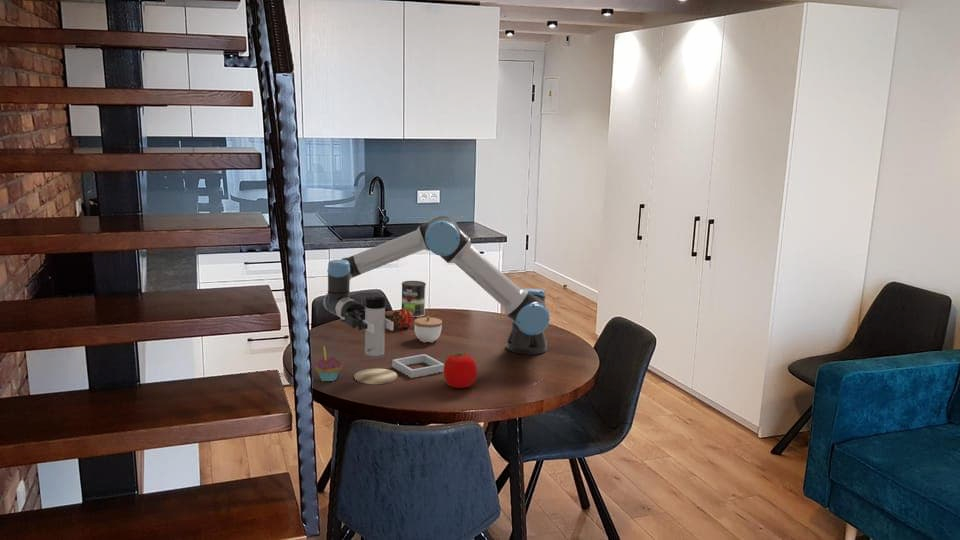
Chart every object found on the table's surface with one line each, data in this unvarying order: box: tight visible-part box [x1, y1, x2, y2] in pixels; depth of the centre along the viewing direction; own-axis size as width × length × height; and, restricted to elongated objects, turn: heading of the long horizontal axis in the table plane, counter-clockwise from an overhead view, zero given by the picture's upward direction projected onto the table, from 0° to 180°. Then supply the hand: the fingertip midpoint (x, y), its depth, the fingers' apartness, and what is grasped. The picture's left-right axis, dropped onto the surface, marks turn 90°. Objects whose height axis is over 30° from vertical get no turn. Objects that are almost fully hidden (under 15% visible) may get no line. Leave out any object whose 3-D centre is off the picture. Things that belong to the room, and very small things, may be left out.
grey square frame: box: [391, 353, 445, 379], centre depth 250 cm, size 13×13×2 cm
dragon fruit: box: [390, 308, 415, 330], centre depth 299 cm, size 8×8×12 cm
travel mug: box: [364, 296, 386, 360], centre depth 238 cm, size 6×7×20 cm
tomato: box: [443, 352, 478, 389], centre depth 235 cm, size 10×11×11 cm
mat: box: [353, 367, 398, 385], centre depth 242 cm, size 14×14×1 cm
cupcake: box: [314, 344, 343, 382], centre depth 237 cm, size 9×8×12 cm
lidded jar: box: [413, 315, 443, 343], centre depth 283 cm, size 11×11×9 cm
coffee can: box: [401, 280, 427, 318], centre depth 319 cm, size 10×10×14 cm
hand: (382, 327), depth 234 cm, fingers closed on travel mug, 6 cm apart
